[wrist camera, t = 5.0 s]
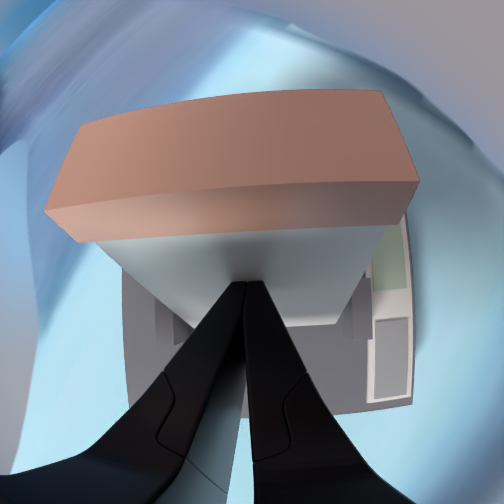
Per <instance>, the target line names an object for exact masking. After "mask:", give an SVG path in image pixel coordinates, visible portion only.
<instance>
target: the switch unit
mask: <svg viewBox="0 0 504 504" xmlns="http://www.w3.org/2000/svg"><path fill="white" fill-rule="evenodd" d="M122 319H123V342H124V358H125V371H126V382H127V392H128V402H129V408H131V407H132V405H133V404H134V403H135V402H136V401H137V400H138V399H139V398H140V397H141V396H142V395H143V393H144V392H145V391H146V390H147V389H148V387H149V386H150V385H151V384H152V383H153V381H154V380H155V379H156V378H157V376H158V375H159V374H160V372H161V371H164V370H163V369H164V368H165V366H166V365H167V364H168V362H169V361H170V360H171V359H172V357H173V356H174V355H175V353H176V352H177V351H178V350H179V348H180V347H181V346H182V344H183V343H184V342H185V341H186V339H187V338H188V337H189V335H190V334H191V333H192V332H193V330H194V329H195V328H193V327H192V326H190V325H189V324H188V323H187V322H185V321H184V320H183V319H182V318H180V317H179V316H178V315H177V314H175V313H174V312H173V311H172V310H171V309H169V308H168V307H167V306H166V305H164V304H163V303H162V302H161V301H160V300H159V299H157V298H156V297H155V296H154V295H153V294H151V293H150V292H149V291H148V290H147V289H146V288H144V287H143V286H142V285H141V284H140V283H139V282H137V281H136V280H135V279H134V278H133V277H132V276H131V275H130V274H128V273H127V272H126V271H125V270H124V269H123V268H122ZM286 328H287V330H288V332H289V334H290V336H291V338H292V340H293V342H294V344H295V346H296V348H297V350H298V352H299V354H300V357H301V359H302V361H303V363H304V365H305V367H306V369H307V372H308V373H309V374H310V376H311V378H312V380H313V382H314V384H315V386H316V388H317V390H318V392H319V394H320V395H321V397H322V399H323V401H324V403H325V404H326V406H327V407H328V409H329V410H330V412H331V413H332V415H340V414H350V413H359V412H367V411H374V410H381V409H388V408H394V407H400V406H406V405H411V404H412V401H413V387H414V367H415V306H414V285H413V270H412V258H411V248H410V239H409V230H408V222H407V215H406V211H405V213H404V215H403V217H402V219H401V221H400V223H399V225H388V226H387V228H386V230H385V232H384V234H383V236H382V238H381V240H380V242H379V244H378V246H377V248H376V250H375V252H374V254H373V256H372V258H371V260H370V262H369V264H368V266H367V268H366V270H365V272H364V274H363V275H362V277H361V279H360V281H359V283H358V285H357V287H356V288H355V290H354V292H353V294H352V296H351V297H350V299H349V301H348V303H347V305H346V306H345V308H344V310H343V312H342V313H341V315H340V317H339V319H338V320H337V322H336V324H327V325H311V326H290V327H286ZM241 418H249V409H248V395H247V381H246V386H245V393H244V399H243V405H242V411H241Z"/></svg>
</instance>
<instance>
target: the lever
mask: <svg viewBox="0 0 504 504" xmlns="http://www.w3.org/2000/svg"><path fill="white" fill-rule="evenodd" d="M419 182H420V180H419V177H418V175H417V172H416V169H415V167H414V164H413V161H412V159H411V156H410V154H409V151H408V149H407V147H406V144H405V142H404V139H403V137H402V135H401V132H400V130H399V128H398V126H397V123H396V121H395V119H394V117H393V115H392V113H391V111H390V108H389V106H388V104H387V102H386V100H385V98H384V96H383V94H382V92H381V91H372V90H345V89H309V90H282V91H266V92H253V93H242V94H232V95H224V96H216V97H208V98H201V99H194V100H188V101H182V102H176V103H170V104H165V105H160V106H155V107H150V108H145V109H140V110H136V111H131V112H127V113H123V114H119V115H115V116H111V117H107V118H103V119H100V120H96V121H92V122H89V123H85V124H82V125H81V127H80V128H79V130H78V132H77V134H76V136H75V138H74V141H73V143H72V145H71V147H70V149H69V151H68V153H67V155H66V158H65V160H64V162H63V164H62V167H61V169H60V171H59V174H58V176H57V178H56V181H55V183H54V186H53V188H52V191H51V193H50V196H49V199H48V201H47V204H46V207H45V209H44V212H46V213H47V214H48V215H49V216H50V217H51V218H52V219H53V220H54V221H55V222H56V223H57V224H58V225H59V226H60V227H61V228H62V229H63V230H65V231H66V232H67V233H68V234H69V235H70V236H71V237H72V238H73V239H74V240H75V241H77V242H78V243H85V242H95V243H96V244H97V245H98V246H99V247H100V248H101V249H102V250H103V251H104V252H105V253H106V254H107V255H109V256H110V257H111V258H112V259H113V260H114V261H115V262H116V263H117V264H118V265H119V266H121V267H122V268H123V269H124V270H125V271H126V272H127V273H128V274H130V275H131V276H132V277H133V278H134V279H135V280H136V281H137V282H139V283H140V284H141V285H142V286H143V287H144V288H146V289H147V290H148V291H149V292H150V293H151V294H153V295H154V296H155V297H156V298H157V299H159V300H160V301H161V302H162V303H163V304H164V305H166V306H167V307H168V308H169V309H171V310H172V311H173V312H174V313H175V314H177V315H178V316H179V317H180V318H182V319H183V320H184V321H185V322H187V323H188V324H189V325H190V326H192V327H193V328H196V326H197V325H198V324H199V323H200V321H201V320H202V319H203V317H204V316H205V315H206V314H207V312H208V311H209V310H210V308H211V307H212V306H213V305H214V303H215V302H216V301H217V299H218V298H219V297H220V296H221V294H222V293H223V292H224V290H225V289H226V288H227V287H228V285H229V284H230V283H231V282H235V281H246V282H248V281H263V282H264V283H265V285H266V287H267V289H268V291H269V294H270V296H271V298H272V300H273V302H274V304H275V306H276V308H277V310H278V312H279V314H280V316H281V318H282V320H283V322H284V324H285V326H286V327H290V326H311V325H327V324H336V322H337V320H338V319H339V317H340V315H341V313H342V312H343V310H344V308H345V306H346V305H347V303H348V301H349V299H350V297H351V296H352V294H353V292H354V290H355V288H356V287H357V285H358V283H359V281H360V279H361V277H362V275H363V274H364V272H365V270H366V268H367V266H368V264H369V262H370V260H371V258H372V256H373V254H374V252H375V250H376V248H377V246H378V244H379V242H380V240H381V238H382V236H383V234H384V232H385V230H386V228H387V226H388V225H399V223H400V221H401V219H402V217H403V215H404V213H405V211H406V209H407V207H408V205H409V203H410V201H411V199H412V197H413V195H414V193H415V191H416V189H417V187H418V184H419Z"/></svg>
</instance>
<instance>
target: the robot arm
mask: <svg viewBox="0 0 504 504" xmlns="http://www.w3.org/2000/svg"><path fill="white" fill-rule="evenodd" d="M163 370H164V371H161V372H160V374H159V375H158V376H157V378H156V379H155V380H154V381H153V383H152V384H151V385H150V386H149V387H148V389H147V390H146V391H145V392H144V393H143V395H142V396H141V397H140V398H139V399H138V400H137V401H136V402H135V403H134V404H133V405H132V407H131V408H130V409H129V410H128V411H127V412H126V413H125V414H124V415H123V416H122V417H121V418H120V419H119V420H118V421H117V422H116V423H115V424H114V425H113V426H112V427H111V428H110V429H109V430H108V431H107V432H106V433H105V434H104V435H103V436H102V437H101V438H100V439H99V440H98V441H97V442H95V443H94V444H93V445H92V446H91V447H89V448H88V449H87V450H85V451H83V452H82V453H80V454H78V455H76V456H73V457H70V458H67V459H64V460H61V461H58V462H55V463H52V464H48V465H45V466H42V467H38V468H35V469H31V470H28V471H24V472H21V473H17V474H11V475H0V504H226V502H227V494H228V490H229V484H230V478H231V472H232V466H233V460H234V454H235V448H236V442H237V436H238V430H239V424H240V418H241V411H242V405H243V399H244V393H245V386H246V381H247V395H248V409H249V423H250V437H251V450H252V461H253V477H254V504H416V503H415V502H413V501H412V500H410V499H409V498H408V497H406V496H405V495H404V494H402V493H401V492H399V491H398V490H397V489H395V488H394V487H393V486H391V485H390V484H389V483H387V482H386V481H385V480H383V479H382V478H381V477H380V476H379V475H378V474H377V473H376V472H375V471H374V470H373V469H372V468H371V467H370V466H369V465H368V463H367V462H366V461H365V460H364V458H363V457H362V456H361V454H360V453H359V452H358V450H357V449H356V447H355V446H354V445H353V443H352V442H351V441H350V439H349V438H348V436H347V435H346V434H345V432H344V431H343V429H342V428H341V427H340V425H339V424H338V422H337V421H336V419H335V418H334V416H333V415H332V413H331V412H330V410H329V409H328V407H327V406H326V404H325V403H324V401H323V399H322V397H321V395H320V394H319V392H318V390H317V388H316V386H315V384H314V382H313V380H312V378H311V376H310V374H309V373H308V372H307V369H306V367H305V365H304V363H303V361H302V359H301V357H300V354H299V352H298V350H297V348H296V346H295V344H294V342H293V340H292V338H291V336H290V334H289V332H288V330H287V328H286V326H285V324H284V322H283V320H282V318H281V316H280V314H279V312H278V310H277V308H276V306H275V304H274V302H273V300H272V298H271V296H270V294H269V291H268V289H267V287H266V285H265V283H264V282H263V281H248V282H246V281H235V282H231V283H230V284H229V285H228V287H227V288H226V289H225V290H224V292H223V293H222V294H221V296H220V297H219V298H218V299H217V301H216V302H215V303H214V305H213V306H212V307H211V308H210V310H209V311H208V312H207V314H206V315H205V316H204V317H203V319H202V320H201V321H200V323H199V324H198V325H197V326H196V328H195V329H194V330H193V332H192V333H191V334H190V335H189V337H188V338H187V339H186V341H185V342H184V343H183V344H182V346H181V347H180V348H179V350H178V351H177V352H176V353H175V355H174V356H173V357H172V359H171V360H170V361H169V362H168V364H167V365H166V366H165V368H164V369H163Z"/></svg>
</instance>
